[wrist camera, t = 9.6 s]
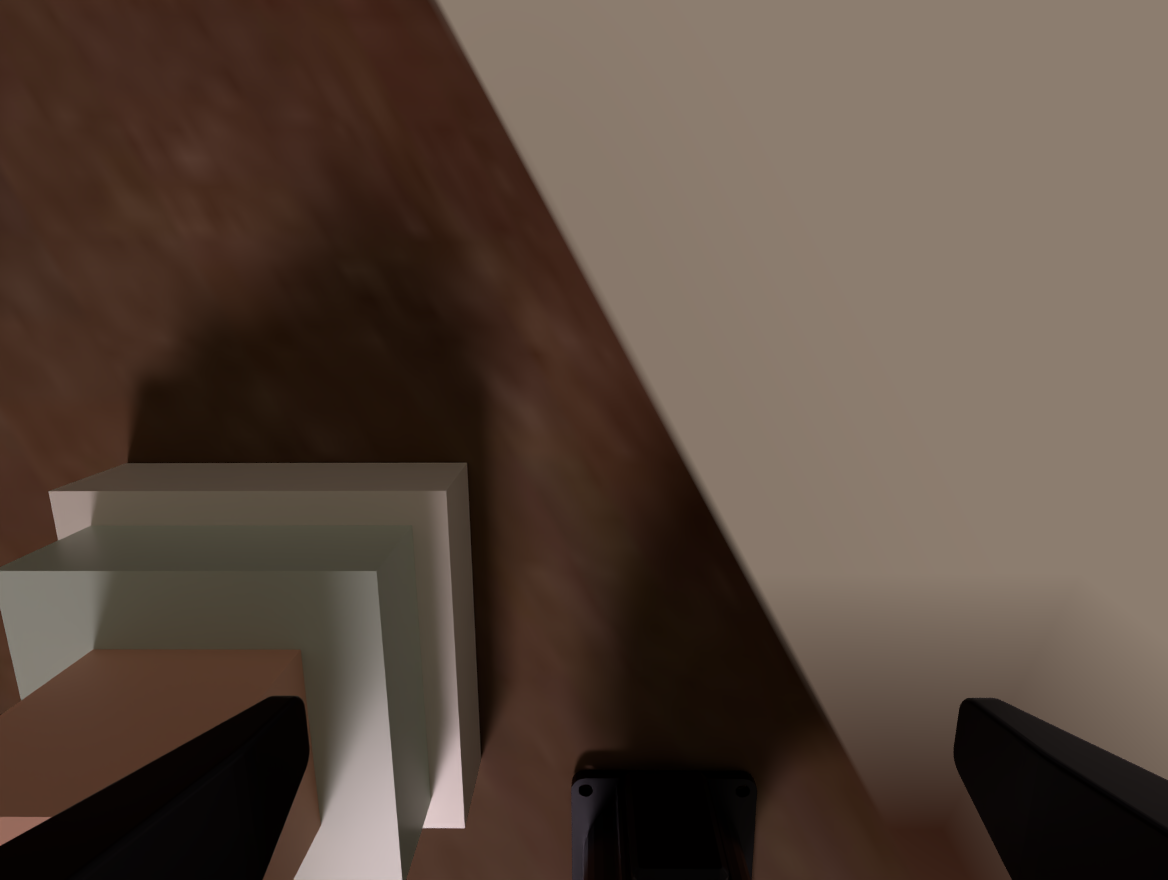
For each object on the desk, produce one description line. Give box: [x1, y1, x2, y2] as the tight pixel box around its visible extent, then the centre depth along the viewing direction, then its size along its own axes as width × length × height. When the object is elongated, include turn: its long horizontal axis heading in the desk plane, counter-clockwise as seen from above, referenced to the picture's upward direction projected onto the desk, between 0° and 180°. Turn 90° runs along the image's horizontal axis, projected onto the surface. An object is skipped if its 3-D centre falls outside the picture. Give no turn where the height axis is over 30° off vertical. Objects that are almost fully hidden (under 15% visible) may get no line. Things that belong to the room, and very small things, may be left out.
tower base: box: [0, 463, 481, 880], centre depth 19 cm, size 11×11×6 cm
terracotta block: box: [0, 649, 321, 880], centre depth 13 cm, size 5×5×5 cm
